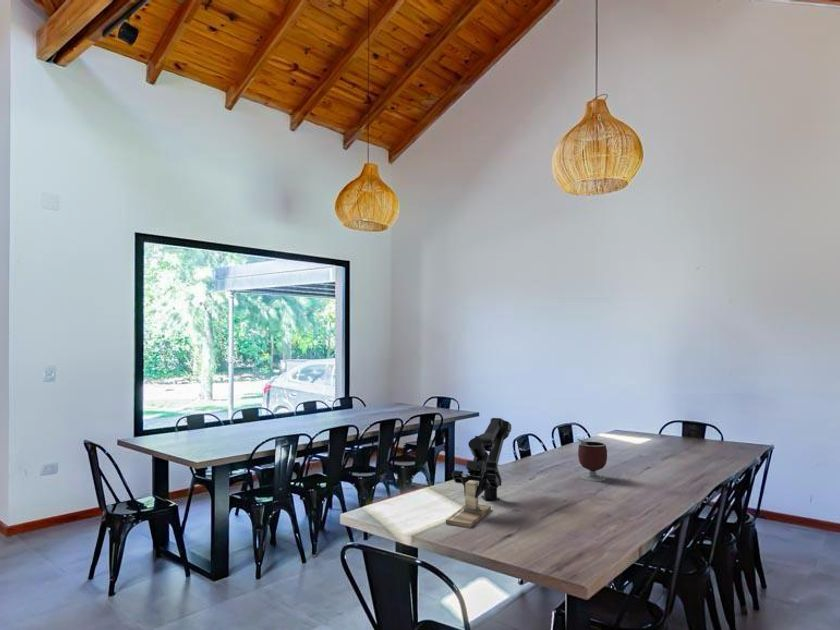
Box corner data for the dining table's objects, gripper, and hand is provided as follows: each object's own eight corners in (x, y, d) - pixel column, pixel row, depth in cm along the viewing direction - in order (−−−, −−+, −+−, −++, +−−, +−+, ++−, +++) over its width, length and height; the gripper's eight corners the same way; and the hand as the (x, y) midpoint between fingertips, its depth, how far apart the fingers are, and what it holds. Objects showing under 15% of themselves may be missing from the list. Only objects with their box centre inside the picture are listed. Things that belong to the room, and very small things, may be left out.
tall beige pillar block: (468, 507, 228) (467, 480, 229) (479, 509, 226) (479, 481, 227) (463, 511, 224) (463, 483, 224) (475, 512, 222) (475, 484, 222)
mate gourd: (596, 473, 291) (595, 434, 292) (613, 480, 278) (612, 439, 278) (570, 476, 286) (569, 436, 287) (586, 482, 273) (585, 441, 274)
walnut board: (467, 506, 235) (467, 502, 235) (490, 509, 231) (490, 505, 231) (445, 523, 213) (445, 519, 213) (470, 527, 209) (470, 523, 209)
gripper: (453, 450, 233) (443, 483, 223) (496, 454, 225) (488, 489, 215) (460, 465, 240) (450, 498, 230) (502, 469, 232) (494, 504, 222)
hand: (470, 497), depth 224 cm, fingers closed on tall beige pillar block, 4 cm apart
